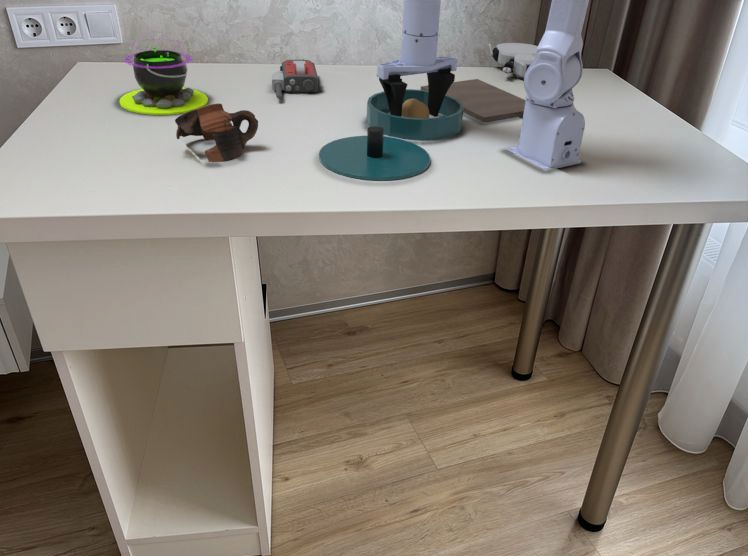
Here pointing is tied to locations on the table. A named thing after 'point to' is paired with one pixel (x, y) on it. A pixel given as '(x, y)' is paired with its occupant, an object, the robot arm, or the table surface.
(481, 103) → the board
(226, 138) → the broken mug
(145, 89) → the toy cauldron
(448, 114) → the teal bowl
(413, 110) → the potato
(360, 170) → the teal disc
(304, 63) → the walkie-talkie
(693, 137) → the table surface
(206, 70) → the table surface
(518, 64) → the robot toy
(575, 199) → the table surface
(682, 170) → the table surface
